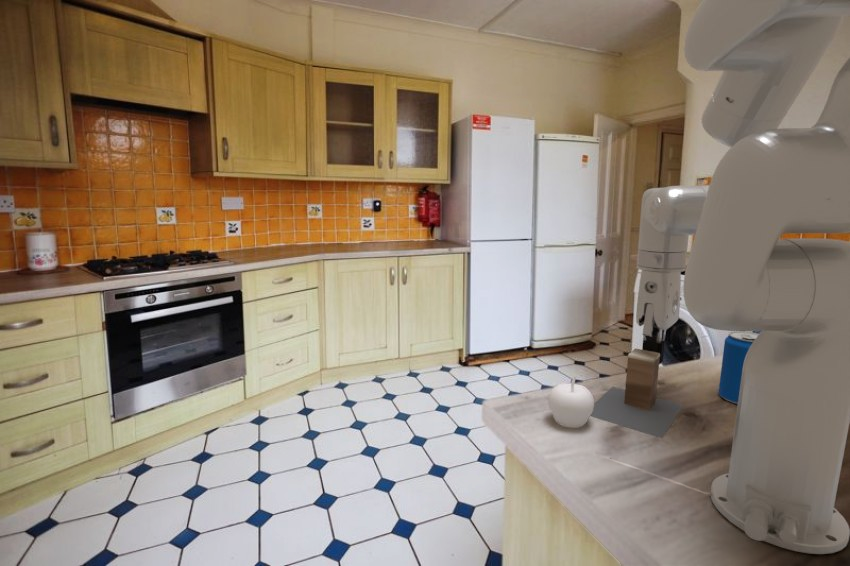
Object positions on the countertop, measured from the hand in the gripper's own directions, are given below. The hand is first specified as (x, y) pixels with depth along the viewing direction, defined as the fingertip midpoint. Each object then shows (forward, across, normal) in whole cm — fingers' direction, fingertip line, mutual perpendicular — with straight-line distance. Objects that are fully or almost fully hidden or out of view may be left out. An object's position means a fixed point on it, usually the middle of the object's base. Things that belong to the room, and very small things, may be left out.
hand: (652, 361), depth 82 cm
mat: (+6, -8, 0) cm, 11 cm away
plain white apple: (+7, -19, +7) cm, 21 cm away
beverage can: (+7, +8, -13) cm, 16 cm away
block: (+6, -5, 0) cm, 8 cm away
